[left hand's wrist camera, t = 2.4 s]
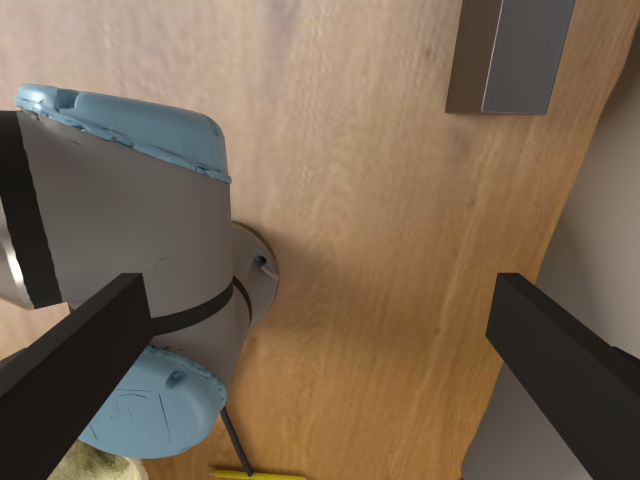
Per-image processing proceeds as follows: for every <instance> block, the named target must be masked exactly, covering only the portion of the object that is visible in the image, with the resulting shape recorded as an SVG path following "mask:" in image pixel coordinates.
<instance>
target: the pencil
mask: <svg viewBox="0 0 640 480" xmlns="http://www.w3.org/2000/svg"><path fill="white" fill-rule="evenodd" d="M207 473H209V474H211V475H213V476H215V477H225V478H238V479H251V480H307V477H305V476H293V475H280V474H267V473H254V472H253V474H252V476H251V477H248V476H247V474H246V472H241V471H228V470H213V471H210V472H207Z"/></svg>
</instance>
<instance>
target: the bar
mask: <svg viewBox="0 0 640 480" xmlns="http://www.w3.org/2000/svg"><path fill="white" fill-rule="evenodd" d="M574 3H575V0H463V3H462V9H461V16H460V22H459V28H458V34H457V41H456V47H455V53H454V59H453V66H452V72H451V78H450V85H449V91H448V97H447V103H446V110H445V113H458V114H479V115H546V113H547V109H548V105H549V101H550V97H551V93H552V89H553V85H554V81H555V78H556V74H557V70H558V66H559V62H560V58H561V54H562V50H563V46H564V42H565V38H566V34H567V30H568V26H569V23H570V19H571V15H572V11H573V7H574Z"/></svg>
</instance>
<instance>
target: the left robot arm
mask: <svg viewBox="0 0 640 480" xmlns="http://www.w3.org/2000/svg"><path fill="white" fill-rule="evenodd" d="M14 101H15V103H16V106H17V107H21V109H22V110H21V111H0V299H2V300H4V301H6V302H9V303H11V304H14V305H16V306H18V307H21V308H23V309H26V310H29V311H30V310H34V309H39V308H43V307H47V306H51V305H55V304H59V303H64V302H68V306H69V310H70V314H69V315H68V316H67V317H65V318H64V319H63V320H62V321H60V322H59V323H58V324H57V325H55V326H54V327H53V328H51V329H50V330H49V331H48V332H46V333H45V334H44V335H43V336H41V337H40V338H39V339H38V340H36V341H35V342H34V343H33V344H31V345H30V346H29V347H28V348H24V349H22V350H20V351H18V352H16V353H14V354H12V355H10V356H9V357H7V358H5V359H3V360H1V361H0V480H47V479H48V477H49V476H50V475H51V473H52V472H53V471H54V469H55V468H56V467H57V465H58V464H59V463H60V461H61V460H62V459H63V457H64V456H65V455H66V453H67V452H68V451H69V449H70V448H71V447H72V445H73V444H74V443H75V441H76V440H77V439H79V440H81V441H83V442H84V443H87V444H89V445H92V446H94V447H95V448H97V449H99V450H102V451H105V452H108V453H111V454H114V455H118V456H123V457H129V458H138V459H156V458H165V457H170V456H174V455H177V454H180V453H183V452H185V451H187V450H188V449H190V448H191V447H192V446H195V445H196V444H198V443H200V442H201V441H202V440H203V439H204V438H205V437H206V436H207V435H208V434H209V432H210V431H211V429H212V428H213V426H214V424H215V421H216V419H217V417H218V415H219V413H220V414H221V417H222V420H223V422H224V424H225V426H226V429H227V431H228V433H229V435H230V438H231V441H232V443H233V445H234V448H235V450H236V452H237V455H238V457H239V459H240V461H241V463H242V465H243V468H244V470H245V472H246V474H247V476H248V477H251V476H252V474H253V472H252V470H251V468H250V466H249V464H248V461H247V459H246V457H245V455H244V453H243V450H242V448H241V446H240V443H239V441H238V438H237V436H236V433H235V431H234V428H233V426H232V424H231V421H230V419H229V417H228V414H227V411H226V407H225V403H226V399H227V391H228V388H229V385H230V382H231V379H232V377H233V374H234V371H235V368H236V365H237V362H238V359H239V356H240V353H241V350H242V347H243V344H244V342H245V339H246V336H247V333H248V330H249V329H250V328H251V327H252V326H253V325H254V324H256V323H257V322H258V321H259V320H260V319H261V318H262V317H263V316H264V315H265V314H266V313H267V312H268V310H269V309H270V307H271V306H272V304H273V302H274V299H275V296H276V292H277V288H278V283H279V270H278V265H277V262H276V259H275V257H274V254H273V252H272V251H271V249H270V248H269V246H268V245H267V243H266V242H265V241H264V240H263V239H262V238H261V237H260V236H259V235H258V234H257V233H255V232H254V231H253V230H251V229H249V228H248V227H246V226H244V225H242V224H240V223H237V222H234V221H231V209H230V184H229V183H232V180H231V177H230V176H229V174H228V167H227V157H226V147H225V138H224V135H223V132H222V130H221V128H220V127H219V125H218V124H217V123H216V122H215V121H214V120H212V119H211V118H210V117H208V116H206V115H204V114H201V113H198V112H194V111H189V110H185V109H181V108H176V107H171V106H166V105H161V104H156V103H150V102H145V101H140V100H134V99H128V98H122V97H117V96H111V95H105V94H98V93H92V92H85V91H84V92H80V91H76V90H70V89H61V88H56V87H52V86H45V85H37V84H25V85H22V86H21V87H20V88H19V89H18V95H17V96H16V97H15V99H14ZM485 336H486V337H487V339H488V340H489V341H490V343H491V344H492V345H493V347H494V348H495V349H496V351H497V352H498V353H499V355H500V356H501V357H502V359H503V360H504V361H505V363H506V364H507V365H508V367H509V368H510V369H511V371H512V372H513V373H514V375H515V376H516V377H517V379H518V380H519V381H520V383H521V384H522V385H523V387H524V388H525V389H526V391H527V392H528V393H529V395H530V396H531V397H532V399H533V400H534V401H535V403H536V404H537V405H538V407H539V408H540V409H541V411H542V412H543V413H544V415H545V416H546V417H547V419H548V420H549V421H550V423H551V424H552V425H553V427H554V428H555V429H556V431H557V432H558V433H559V435H560V436H561V437H562V439H563V440H564V441H565V443H566V444H567V445H568V447H569V448H570V449H571V451H572V452H573V453H574V455H575V456H576V457H577V459H578V460H579V461H580V463H581V464H582V465H583V467H584V468H585V469H586V471H587V472H588V473H589V475H590V476H591V477H592V479H593V480H640V359H638V358H636V357H634V356H632V355H630V354H629V353H627V352H625V351H623V350H621V349H619V348H617V347H611V346H610V345H609V344H607V343H606V342H605V341H604V340H602V339H601V338H600V337H599V336H597V335H596V334H595V333H594V332H592V331H591V330H590V329H589V328H587V327H586V326H585V325H583V324H582V323H581V322H580V321H578V320H577V319H576V318H575V317H573V316H572V315H571V314H570V313H568V312H567V311H566V310H565V309H563V308H562V307H561V306H560V305H558V304H557V303H556V302H554V301H553V300H552V299H551V298H549V297H548V296H547V295H546V294H544V293H543V292H542V291H541V290H539V289H538V288H537V287H536V286H534V285H533V284H532V283H531V282H529V281H528V280H527V279H526V278H524V277H523V276H522V275H520V274H519V273H498V274H497V279H496V284H495V289H494V294H493V300H492V305H491V310H490V315H489V320H488V325H487V330H486V335H485ZM249 480H251V479H249Z"/></svg>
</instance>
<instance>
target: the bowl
mask: <svg viewBox="0 0 640 480" xmlns="http://www.w3.org/2000/svg"><path fill="white" fill-rule="evenodd" d="M47 480H149V475H148V472H147V469H146V467H145V465H144V463H143V459H138V458H129V457H123V456H118V455H114V454H111V453H108V452H105V451H102V450H99V449H97V448H95V447H94V446H92V445H89V444H87V443H84V442H83V441H81V440H79V439H77V440H76V441H75V443H74V444H73V445H72V447H71V448H70V449H69V451H68V452H67V453H66V455H65V456H64V457H63V459H62V460H61V461H60V463H59V464H58V465H57V467H56V468H55V469H54V471H53V472H52V473H51V475H50V476H49V477H48V479H47Z"/></svg>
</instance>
